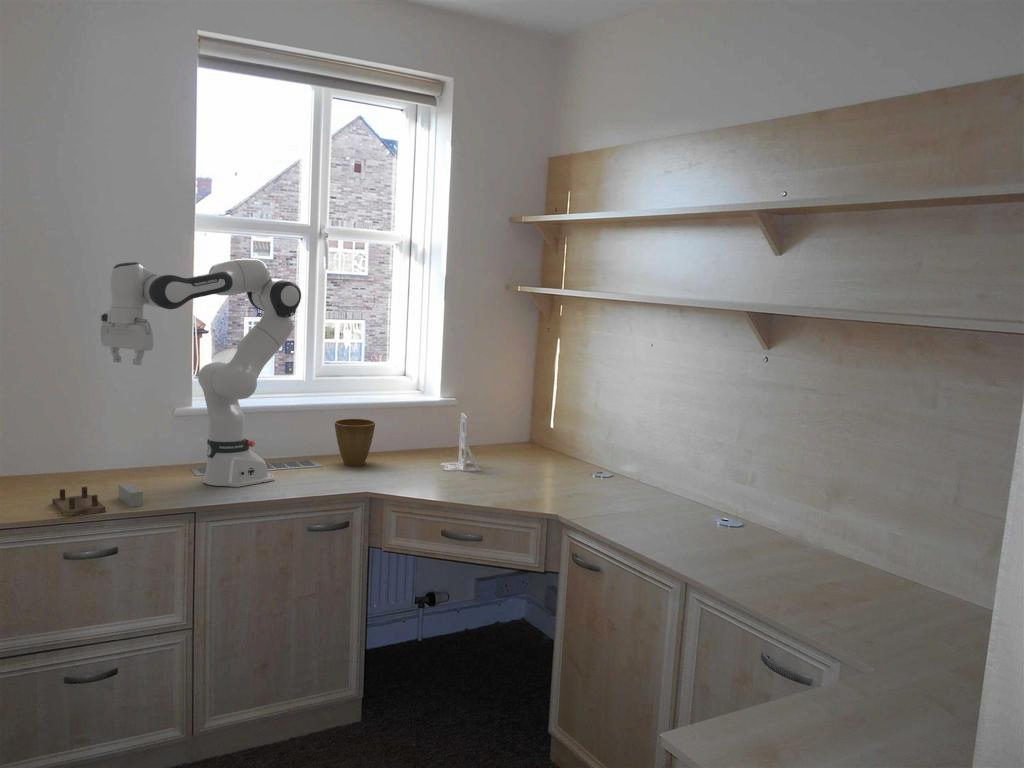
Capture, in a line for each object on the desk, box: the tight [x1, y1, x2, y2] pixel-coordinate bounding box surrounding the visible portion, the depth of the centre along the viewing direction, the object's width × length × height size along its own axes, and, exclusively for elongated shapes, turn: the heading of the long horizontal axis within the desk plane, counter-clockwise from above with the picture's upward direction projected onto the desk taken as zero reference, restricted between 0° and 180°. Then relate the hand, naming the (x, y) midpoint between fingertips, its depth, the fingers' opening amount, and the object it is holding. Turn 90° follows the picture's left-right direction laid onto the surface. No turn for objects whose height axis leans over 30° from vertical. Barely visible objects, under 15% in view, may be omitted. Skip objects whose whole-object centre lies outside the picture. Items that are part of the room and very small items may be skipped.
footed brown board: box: [51, 486, 106, 517], centre depth 238 cm, size 10×16×4 cm, turn 40°
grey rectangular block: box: [118, 482, 144, 508], centre depth 247 cm, size 3×12×4 cm, turn 40°
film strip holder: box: [440, 412, 481, 473], centre depth 314 cm, size 14×14×20 cm
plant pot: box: [334, 418, 376, 467], centre depth 311 cm, size 15×15×16 cm
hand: (127, 363), depth 250 cm, fingers open, 8 cm apart
